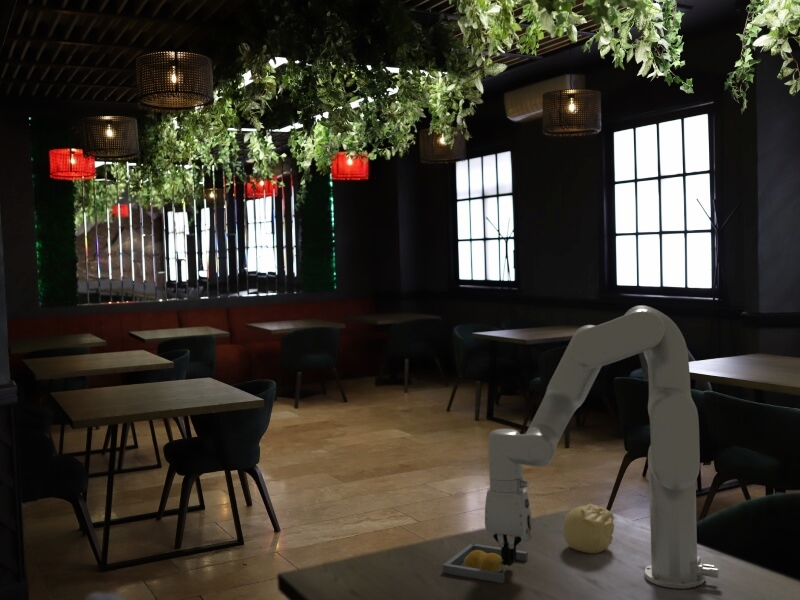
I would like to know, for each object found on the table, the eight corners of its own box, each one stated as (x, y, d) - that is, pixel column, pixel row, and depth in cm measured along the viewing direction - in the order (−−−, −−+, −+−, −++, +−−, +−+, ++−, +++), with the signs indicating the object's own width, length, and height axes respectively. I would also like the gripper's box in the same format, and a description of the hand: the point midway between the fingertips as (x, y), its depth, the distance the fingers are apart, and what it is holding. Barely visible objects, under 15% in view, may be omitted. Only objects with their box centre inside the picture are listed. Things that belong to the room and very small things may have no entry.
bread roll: (496, 578, 185) (495, 560, 185) (459, 572, 189) (459, 555, 189) (510, 565, 192) (509, 548, 192) (474, 559, 197) (474, 543, 196)
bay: (527, 559, 195) (527, 551, 195) (502, 583, 182) (502, 575, 181) (471, 550, 202) (471, 543, 202) (442, 572, 189) (442, 565, 189)
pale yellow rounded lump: (606, 560, 192) (604, 515, 191) (556, 552, 198) (555, 508, 198) (620, 545, 202) (619, 501, 201) (573, 537, 208) (572, 495, 207)
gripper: (543, 483, 187) (546, 562, 188) (482, 476, 195) (485, 553, 196) (531, 492, 181) (534, 574, 182) (469, 485, 188) (472, 564, 189)
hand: (509, 563), depth 189 cm, fingers closed
